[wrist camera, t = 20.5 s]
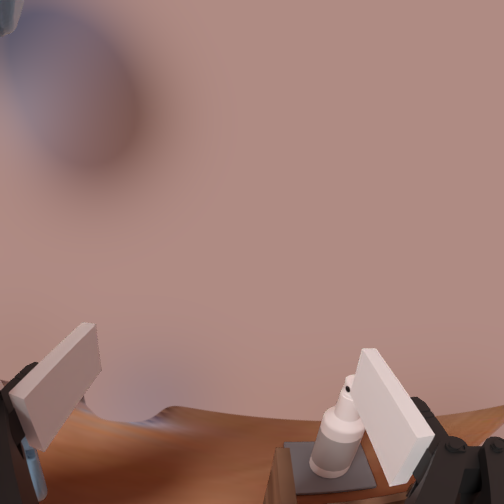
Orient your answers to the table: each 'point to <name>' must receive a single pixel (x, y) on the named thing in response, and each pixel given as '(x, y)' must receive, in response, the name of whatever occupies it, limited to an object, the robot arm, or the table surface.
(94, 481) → the table surface
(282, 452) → the rack
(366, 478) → the mat
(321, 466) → the spray bottle
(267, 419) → the table surface
